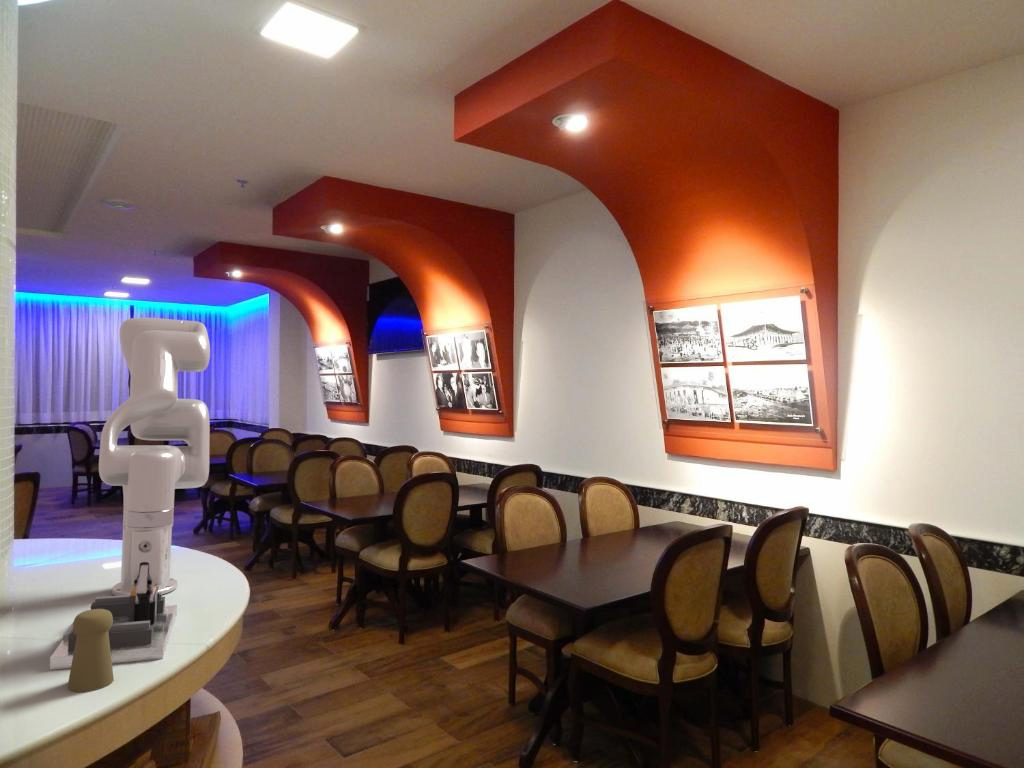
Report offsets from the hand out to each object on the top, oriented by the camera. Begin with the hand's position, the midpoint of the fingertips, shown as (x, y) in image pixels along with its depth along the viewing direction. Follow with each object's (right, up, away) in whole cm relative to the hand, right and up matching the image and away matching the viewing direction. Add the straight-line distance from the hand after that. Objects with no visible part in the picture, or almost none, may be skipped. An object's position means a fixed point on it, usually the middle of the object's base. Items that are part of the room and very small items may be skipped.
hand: (146, 619), depth 121 cm
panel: (-4, -3, -1) cm, 5 cm away
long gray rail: (-4, -1, -1) cm, 4 cm away
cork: (+2, -3, -19) cm, 19 cm away
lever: (-1, -1, 0) cm, 1 cm away
